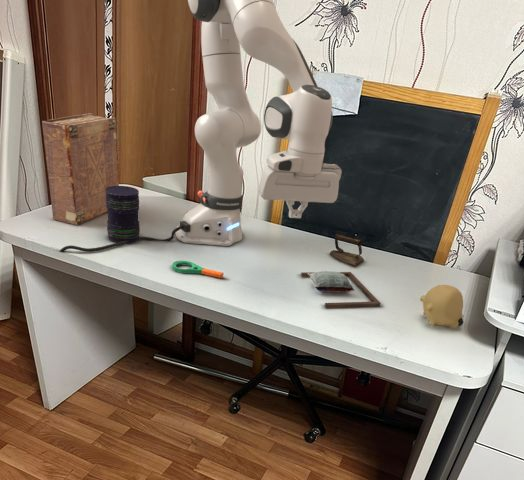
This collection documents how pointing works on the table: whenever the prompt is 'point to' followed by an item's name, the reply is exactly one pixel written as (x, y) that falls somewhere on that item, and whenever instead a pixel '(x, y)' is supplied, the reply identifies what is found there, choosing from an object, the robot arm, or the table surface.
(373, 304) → the bay
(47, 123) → the book
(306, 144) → the robot arm
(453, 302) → the toy pig
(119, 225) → the dark blue cylinder
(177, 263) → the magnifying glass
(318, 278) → the packaged food
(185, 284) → the table surface
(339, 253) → the clothes iron
